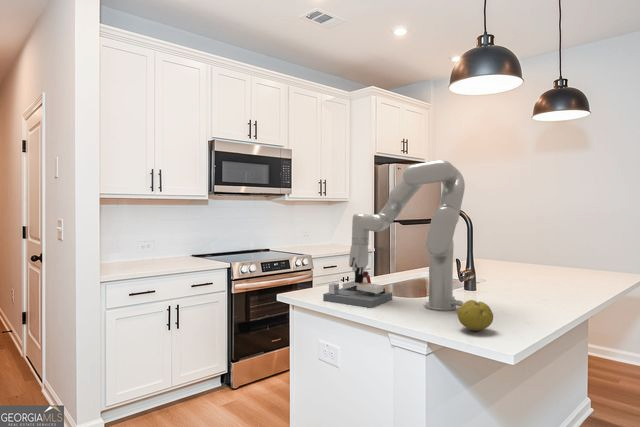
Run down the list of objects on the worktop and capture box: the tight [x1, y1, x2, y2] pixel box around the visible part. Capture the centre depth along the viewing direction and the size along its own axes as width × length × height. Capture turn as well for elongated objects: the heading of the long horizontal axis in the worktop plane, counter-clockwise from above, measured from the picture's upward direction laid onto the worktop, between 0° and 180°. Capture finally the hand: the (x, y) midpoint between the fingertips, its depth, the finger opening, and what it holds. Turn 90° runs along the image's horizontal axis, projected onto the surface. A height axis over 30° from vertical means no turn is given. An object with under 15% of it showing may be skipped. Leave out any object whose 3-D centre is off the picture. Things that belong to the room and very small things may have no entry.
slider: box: [328, 282, 340, 294], centre depth 187 cm, size 3×4×4 cm
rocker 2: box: [357, 282, 385, 293], centre depth 185 cm, size 10×6×3 cm, turn 56°
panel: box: [322, 286, 393, 309], centre depth 188 cm, size 24×20×5 cm
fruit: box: [456, 299, 494, 332], centre depth 142 cm, size 11×12×10 cm
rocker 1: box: [341, 277, 367, 289], centre depth 196 cm, size 10×6×3 cm, turn 56°
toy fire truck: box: [363, 270, 372, 284], centre depth 207 cm, size 7×12×10 cm, turn 24°
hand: (358, 282), depth 188 cm, fingers closed
